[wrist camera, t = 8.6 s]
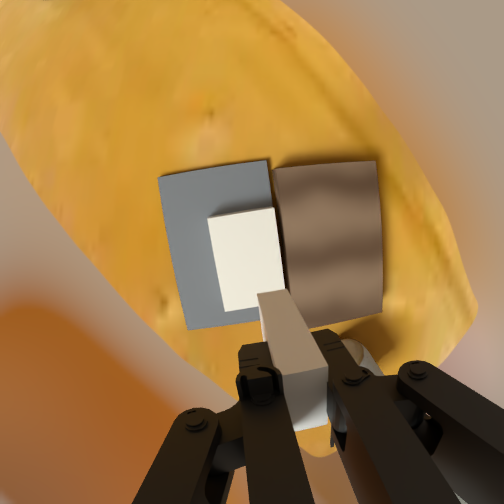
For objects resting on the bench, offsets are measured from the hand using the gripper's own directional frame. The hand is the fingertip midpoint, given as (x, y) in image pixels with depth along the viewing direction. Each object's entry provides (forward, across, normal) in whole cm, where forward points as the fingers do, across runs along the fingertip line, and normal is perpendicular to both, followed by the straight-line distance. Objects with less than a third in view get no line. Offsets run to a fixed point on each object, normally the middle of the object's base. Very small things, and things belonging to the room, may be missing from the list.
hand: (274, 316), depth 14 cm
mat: (+15, -3, 0) cm, 16 cm away
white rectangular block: (+15, 0, -1) cm, 15 cm away
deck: (+15, +8, -1) cm, 17 cm away
